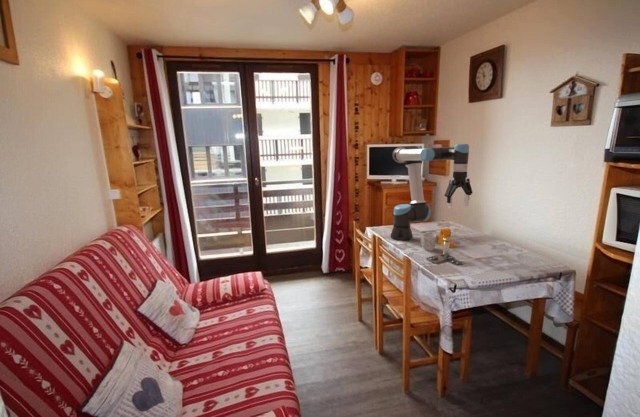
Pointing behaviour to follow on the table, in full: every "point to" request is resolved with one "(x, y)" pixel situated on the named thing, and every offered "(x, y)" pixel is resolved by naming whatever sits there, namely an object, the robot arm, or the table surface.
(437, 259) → the chain end
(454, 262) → the grey latch plate
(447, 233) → the bracket
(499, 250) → the table surface
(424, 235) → the mug
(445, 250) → the pin
